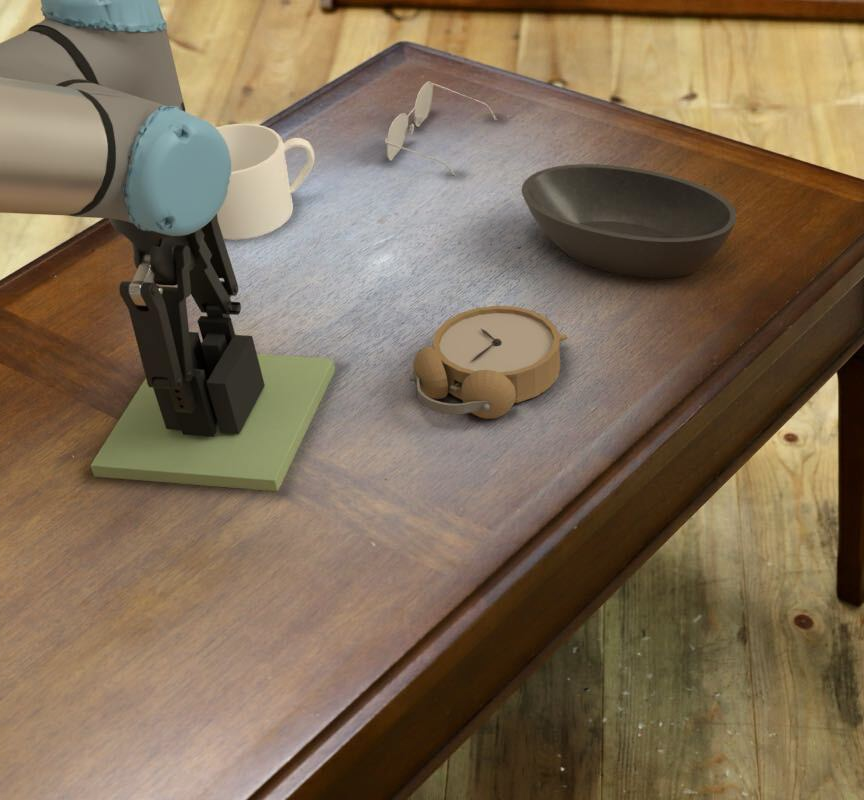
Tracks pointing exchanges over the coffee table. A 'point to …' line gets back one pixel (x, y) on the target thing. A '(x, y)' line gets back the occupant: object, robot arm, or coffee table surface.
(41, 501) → the coffee table surface
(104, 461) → the sage mat
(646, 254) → the bowl
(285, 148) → the mug
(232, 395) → the black slotted block
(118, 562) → the coffee table surface
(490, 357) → the alarm clock
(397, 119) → the sunglasses
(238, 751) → the coffee table surface
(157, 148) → the robot arm
